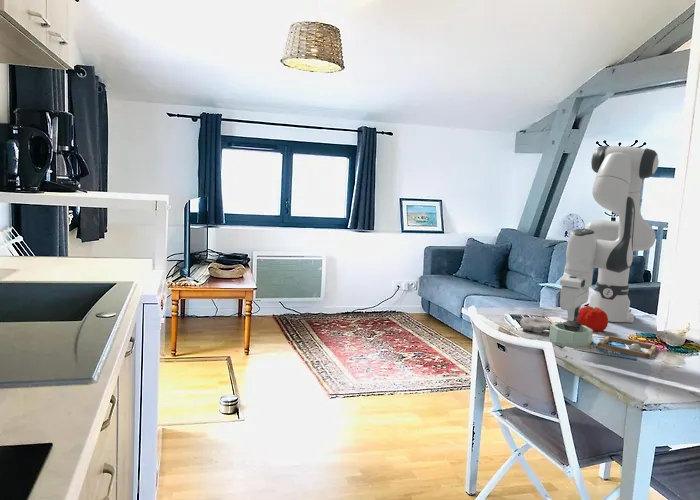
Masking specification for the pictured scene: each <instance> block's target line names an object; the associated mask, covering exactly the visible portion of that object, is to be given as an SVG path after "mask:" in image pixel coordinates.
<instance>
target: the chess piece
mask: <svg viewBox="0 0 700 500" xmlns="http://www.w3.org/2000/svg"><path fill="white" fill-rule="evenodd" d="M578 311H579V307H577V308H576V309H575V311H574V315H575V318H574V320H573V321H569V320H568V319H567V320H566V321H563V324H564V328H565V330H567V331H572V332H578V331H579V330H580V328H581V326H582V325H581V324H579V323H578V315H579V313H578Z"/></svg>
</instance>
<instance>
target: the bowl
mask: <svg viewBox="0 0 700 500" xmlns="http://www.w3.org/2000/svg"><path fill="white" fill-rule="evenodd" d="M563 322H564V321H563ZM563 322H560V321H555V322H553V323H551V325H550V328H549V336H548V339H549V341H550V343H551V342H552V344H553V345H555V346H558V347H561V348H565V347H566V346H572V347H588V346H590V345H591V344H592V342H593V334H594V331H593V330H592V329H590V328H588V327H586V326H584V325H582V326H581V328H580V330H579V331H578V332H572V331H567V330H565V328H564V324H563Z"/></svg>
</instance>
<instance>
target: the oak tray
mask: <svg viewBox="0 0 700 500" xmlns="http://www.w3.org/2000/svg"><path fill="white" fill-rule="evenodd" d="M609 341H610V342H615V341H616V342H615V343H619V342H620V344H625V345H629V346H630V345H631V344H638V345H639V346H640V348H643V349H646V350H647V349H648V351H647V352H641V351H640V352H639V351H634V350H630V348H629V349H628V348H623V347H621V346H620V347H619V346H616V345H615V346H614V345H611V344H607V343H608V342H609ZM597 348H598V349H602V350H607V351H611V352H616V353H621V354H625V355H629V356H633V357H637V358H641V359H642V358H643V359H646V360H649V359H650V358H651V357H652V356H653V354H654V353H655V352H656V350H657V345H655V344H653V343H646V342H641V341H637V340H632V339H626V338H623V337H617V336H615V335H614V336H613V335H608V334H606V336H605V337H604V338H602V339H601V340H600V341H598V343H597Z"/></svg>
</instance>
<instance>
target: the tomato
mask: <svg viewBox="0 0 700 500" xmlns="http://www.w3.org/2000/svg"><path fill="white" fill-rule="evenodd" d="M578 323H579V324H581V325H584V326H586V327H588V328H590V329H592V330H593V332H604V331H605V330H606V329H607V327H608V325H609V321H608V317H607V314H606V313H605V312H604V311H602V310H601V308H600V309H599V308H597V307H595V308H593V307H590V306H589V305H587V306H583V307H581V308H580V311H579V315H578Z"/></svg>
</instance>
